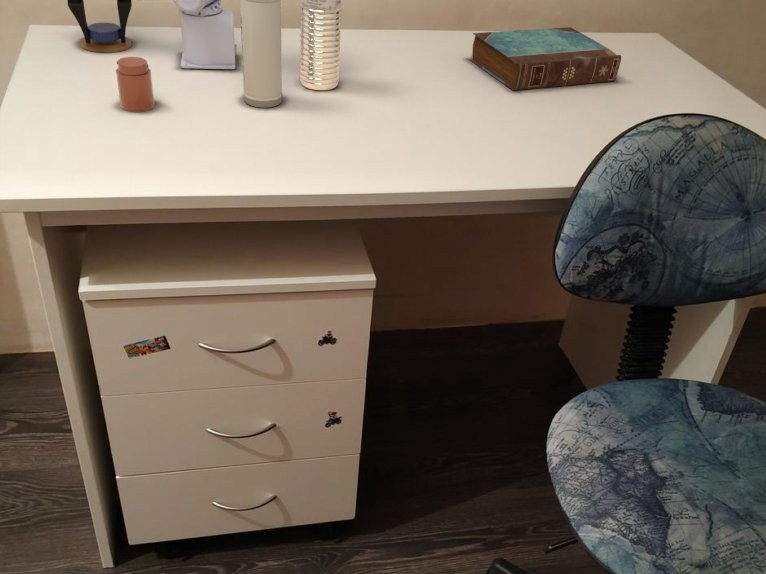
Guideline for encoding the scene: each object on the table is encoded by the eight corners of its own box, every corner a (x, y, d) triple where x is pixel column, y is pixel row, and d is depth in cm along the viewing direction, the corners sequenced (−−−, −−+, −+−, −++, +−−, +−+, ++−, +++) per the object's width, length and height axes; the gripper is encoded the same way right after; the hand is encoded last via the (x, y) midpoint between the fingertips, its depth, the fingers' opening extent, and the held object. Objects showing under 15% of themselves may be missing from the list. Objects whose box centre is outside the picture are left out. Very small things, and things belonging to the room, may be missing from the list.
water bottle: (291, 82, 141) (291, -79, 125) (320, 74, 145) (323, -83, 129) (318, 94, 138) (321, -70, 122) (346, 86, 142) (353, -74, 126)
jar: (154, 99, 131) (149, 55, 126) (154, 111, 127) (149, 67, 122) (121, 99, 130) (115, 55, 125) (120, 112, 126) (113, 67, 121)
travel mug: (288, 97, 136) (288, -33, 123) (272, 111, 131) (269, -23, 118) (255, 90, 137) (251, -39, 124) (237, 103, 132) (231, -30, 119)
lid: (92, 31, 150) (90, 21, 149) (124, 33, 150) (122, 23, 149) (85, 41, 145) (84, 31, 144) (118, 42, 146) (117, 33, 145)
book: (514, 91, 146) (519, 63, 143) (468, 59, 158) (471, 32, 155) (615, 82, 154) (622, 55, 151) (564, 52, 166) (569, 26, 163)
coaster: (133, 37, 153) (133, 34, 152) (129, 53, 146) (128, 50, 146) (83, 36, 151) (83, 32, 151) (77, 52, 144) (76, 48, 144)
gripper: (47, -36, 135) (63, 48, 144) (137, -34, 138) (147, 47, 147) (50, -46, 140) (64, 35, 149) (136, -44, 143) (145, 35, 152)
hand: (105, 41), depth 148 cm, fingers closed on lid, 5 cm apart
